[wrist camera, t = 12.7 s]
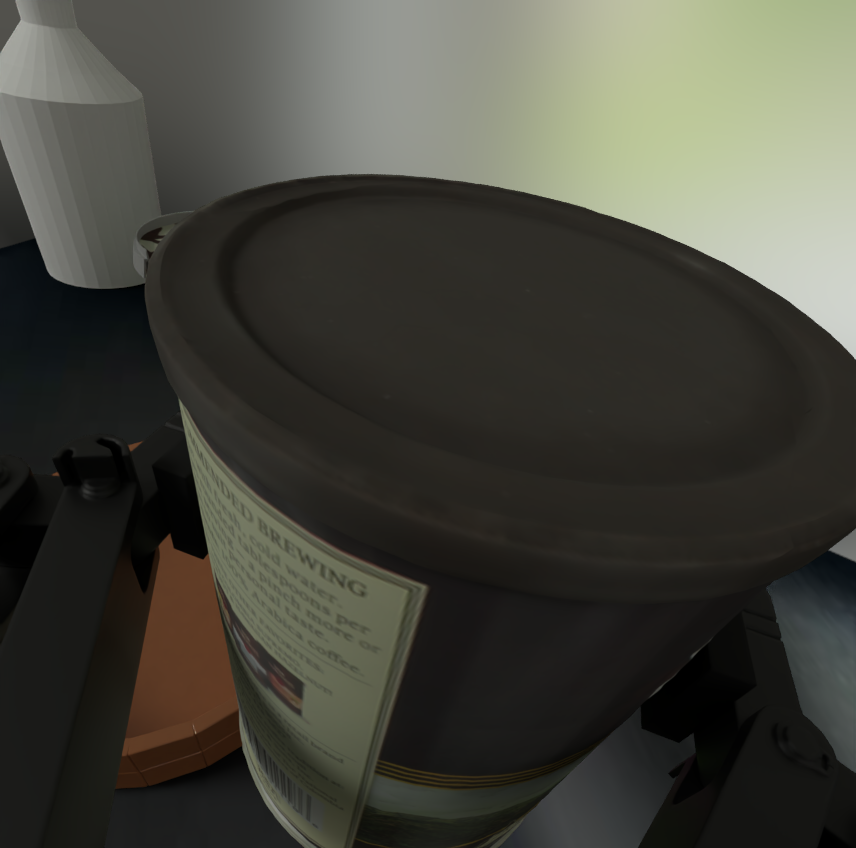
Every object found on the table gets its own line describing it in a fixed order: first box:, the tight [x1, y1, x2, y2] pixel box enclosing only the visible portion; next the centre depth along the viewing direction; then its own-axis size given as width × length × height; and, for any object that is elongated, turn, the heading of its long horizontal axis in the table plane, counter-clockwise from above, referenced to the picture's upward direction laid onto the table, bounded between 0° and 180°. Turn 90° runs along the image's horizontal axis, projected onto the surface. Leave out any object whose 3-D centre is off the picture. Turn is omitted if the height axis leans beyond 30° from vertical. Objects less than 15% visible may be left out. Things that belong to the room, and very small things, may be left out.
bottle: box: [0, 0, 161, 289], centre depth 46 cm, size 12×12×25 cm
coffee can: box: [145, 174, 856, 848], centre depth 12 cm, size 10×10×14 cm
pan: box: [53, 441, 242, 789], centre depth 26 cm, size 17×17×4 cm
